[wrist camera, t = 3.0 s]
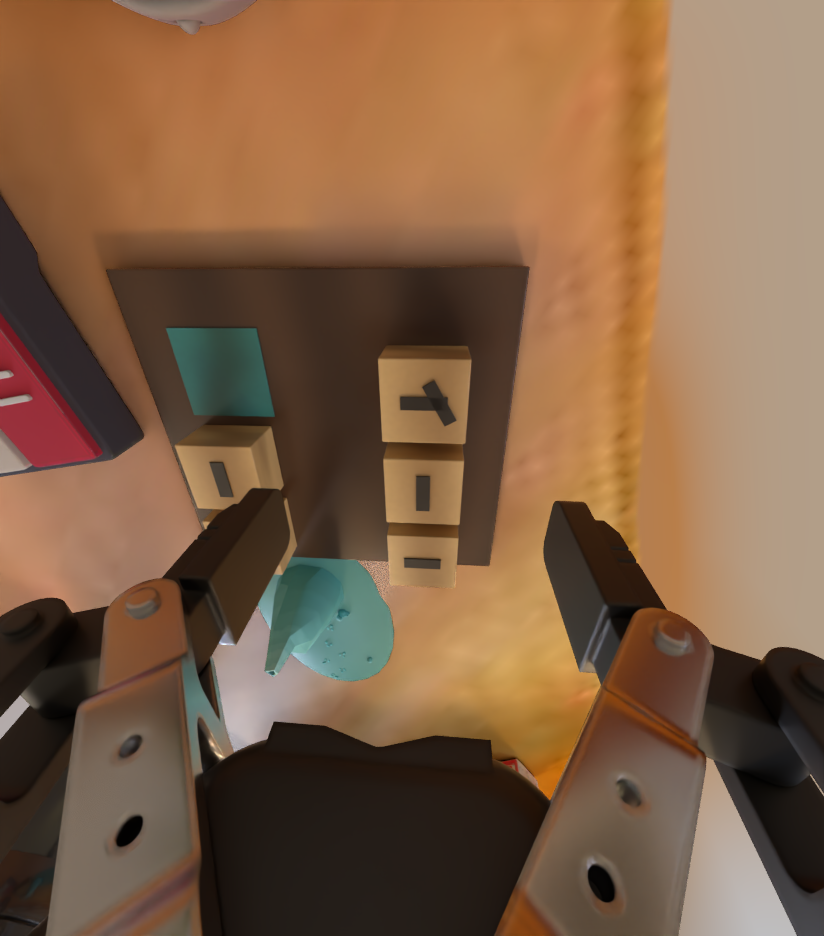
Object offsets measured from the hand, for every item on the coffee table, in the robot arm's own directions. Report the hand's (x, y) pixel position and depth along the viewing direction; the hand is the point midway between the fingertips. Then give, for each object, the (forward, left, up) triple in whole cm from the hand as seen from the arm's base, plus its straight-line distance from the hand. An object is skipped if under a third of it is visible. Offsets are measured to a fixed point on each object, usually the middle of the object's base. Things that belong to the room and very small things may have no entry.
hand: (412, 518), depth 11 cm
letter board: (-6, -4, -13) cm, 15 cm away
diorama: (-9, -22, -13) cm, 27 cm away
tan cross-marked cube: (0, 0, -12) cm, 12 cm away
